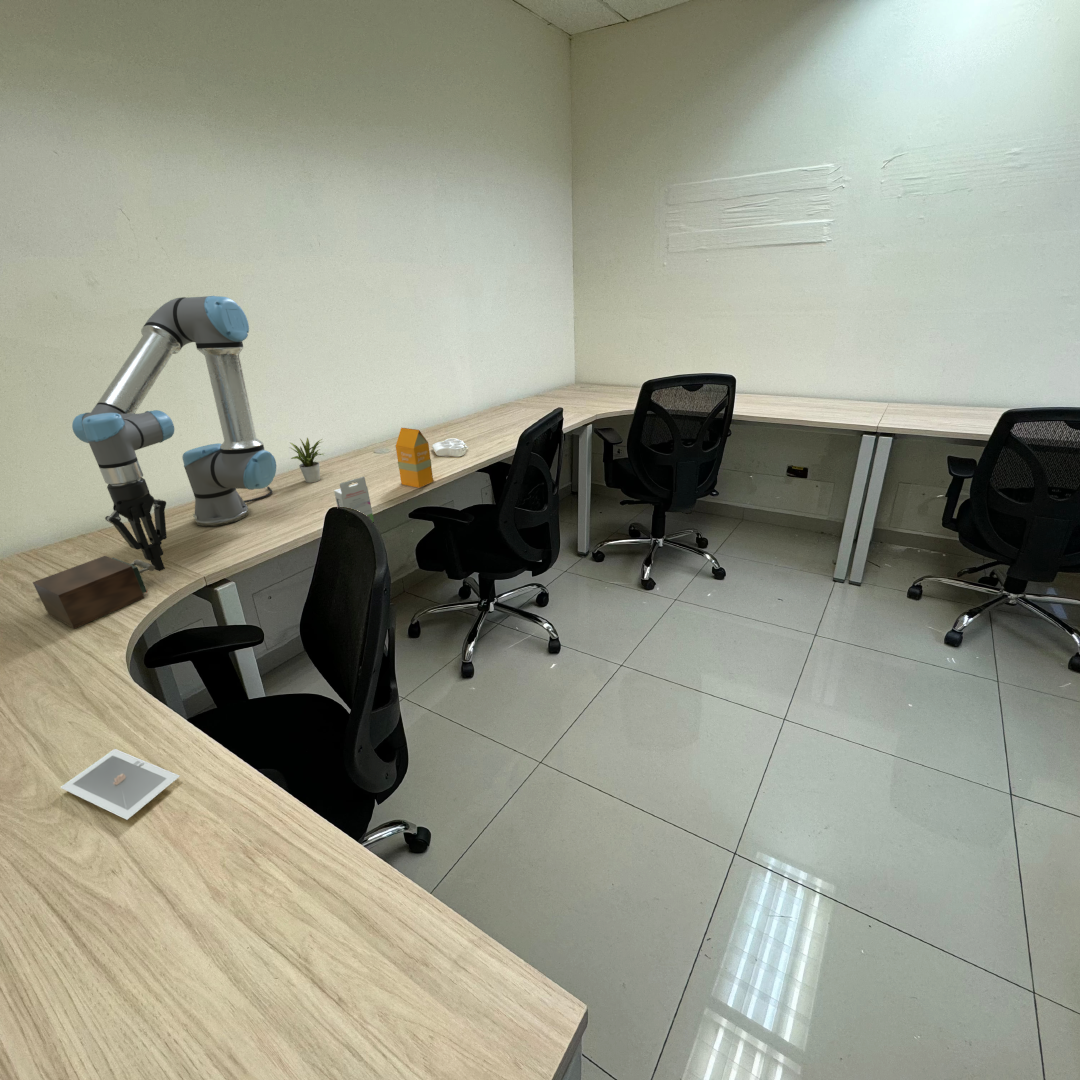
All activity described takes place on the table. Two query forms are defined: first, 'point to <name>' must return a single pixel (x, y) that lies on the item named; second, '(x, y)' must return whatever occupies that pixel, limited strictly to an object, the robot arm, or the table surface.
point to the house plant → (308, 461)
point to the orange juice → (413, 458)
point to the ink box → (354, 496)
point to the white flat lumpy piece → (450, 447)
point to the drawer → (140, 571)
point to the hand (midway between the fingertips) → (159, 568)
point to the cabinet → (89, 591)
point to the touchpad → (120, 783)
